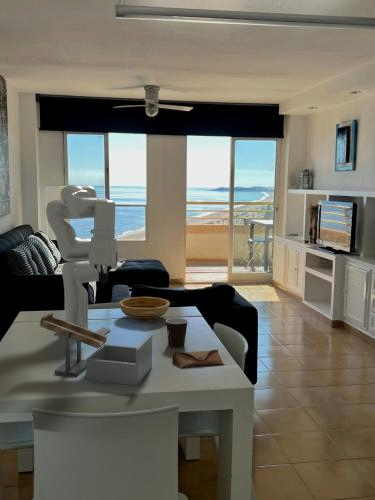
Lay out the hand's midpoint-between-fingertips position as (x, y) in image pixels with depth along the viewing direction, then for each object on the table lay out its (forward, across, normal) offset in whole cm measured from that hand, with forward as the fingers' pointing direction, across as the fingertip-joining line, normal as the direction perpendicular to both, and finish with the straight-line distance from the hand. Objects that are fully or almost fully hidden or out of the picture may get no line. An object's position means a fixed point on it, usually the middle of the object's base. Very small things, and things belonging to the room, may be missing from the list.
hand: (103, 282), depth 179 cm
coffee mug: (+27, +25, +18) cm, 41 cm away
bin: (+26, +15, -18) cm, 35 cm away
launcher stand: (+27, -2, -18) cm, 33 cm away
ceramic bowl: (+29, 0, +50) cm, 58 cm away
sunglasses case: (+26, +38, 0) cm, 46 cm away
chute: (+15, -3, -13) cm, 20 cm away
